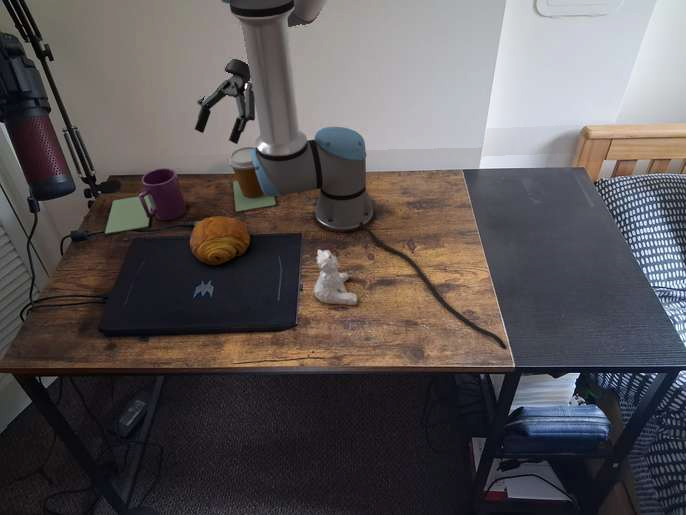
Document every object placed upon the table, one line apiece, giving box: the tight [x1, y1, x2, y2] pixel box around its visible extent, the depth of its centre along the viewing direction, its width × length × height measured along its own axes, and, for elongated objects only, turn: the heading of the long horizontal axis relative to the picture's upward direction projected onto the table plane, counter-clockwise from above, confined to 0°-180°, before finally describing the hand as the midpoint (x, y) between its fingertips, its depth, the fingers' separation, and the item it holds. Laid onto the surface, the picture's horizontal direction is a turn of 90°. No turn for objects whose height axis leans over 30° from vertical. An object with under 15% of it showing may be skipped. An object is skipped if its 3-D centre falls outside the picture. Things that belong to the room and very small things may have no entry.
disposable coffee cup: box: [228, 146, 263, 198], centre depth 127 cm, size 10×10×12 cm
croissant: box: [189, 215, 251, 266], centre depth 111 cm, size 14×16×8 cm
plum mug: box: [138, 167, 188, 221], centre depth 122 cm, size 12×9×11 cm
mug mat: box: [104, 196, 152, 235], centre depth 126 cm, size 16×11×1 cm
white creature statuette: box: [313, 249, 358, 306], centre depth 95 cm, size 10×9×12 cm
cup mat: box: [232, 180, 277, 213], centre depth 131 cm, size 16×11×1 cm
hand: (215, 136), depth 127 cm, fingers open, 13 cm apart
